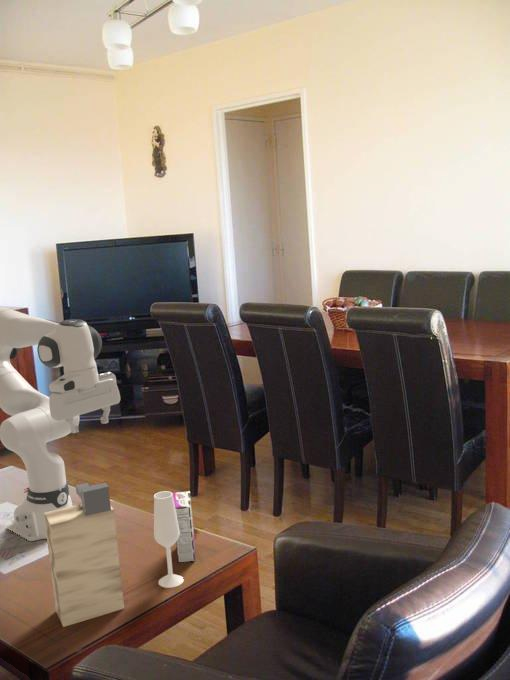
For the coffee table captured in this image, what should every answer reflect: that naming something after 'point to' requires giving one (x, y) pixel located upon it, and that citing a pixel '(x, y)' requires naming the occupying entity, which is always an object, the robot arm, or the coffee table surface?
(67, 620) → the pedestal
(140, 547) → the coffee table surface
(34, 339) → the robot arm
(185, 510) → the candy bar box
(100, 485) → the t handle
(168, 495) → the champagne flute
